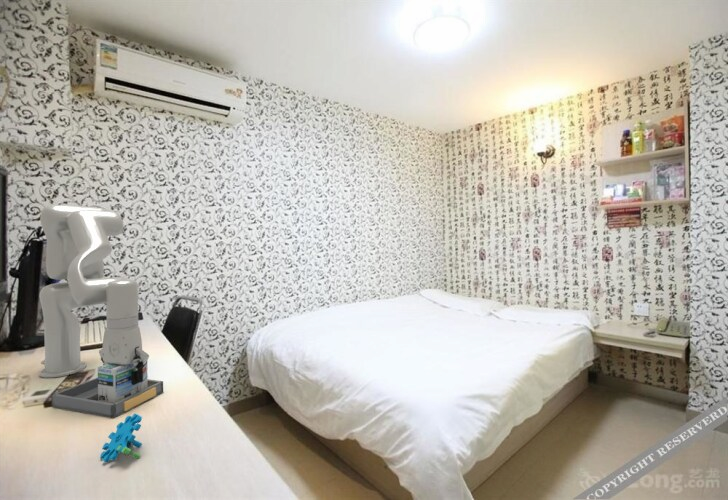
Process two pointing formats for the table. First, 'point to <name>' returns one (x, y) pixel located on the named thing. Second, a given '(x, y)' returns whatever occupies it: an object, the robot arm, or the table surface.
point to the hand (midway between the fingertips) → (124, 381)
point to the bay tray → (87, 401)
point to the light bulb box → (118, 382)
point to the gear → (123, 439)
